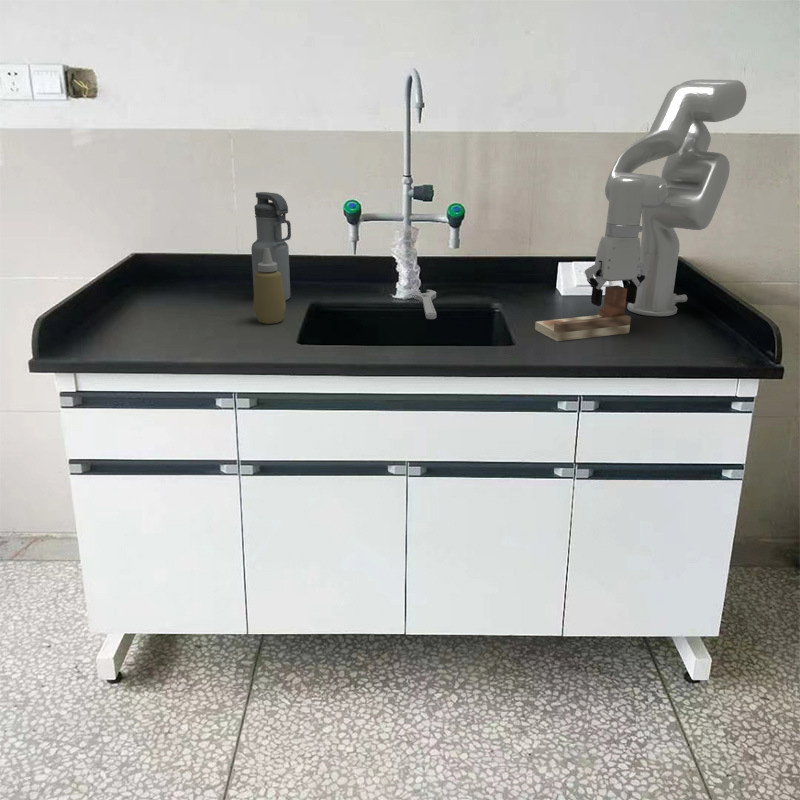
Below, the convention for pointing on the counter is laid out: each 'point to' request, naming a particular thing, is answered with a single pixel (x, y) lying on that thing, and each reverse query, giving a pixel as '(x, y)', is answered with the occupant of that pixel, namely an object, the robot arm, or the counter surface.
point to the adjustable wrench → (427, 303)
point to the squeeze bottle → (268, 291)
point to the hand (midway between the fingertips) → (613, 303)
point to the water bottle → (272, 235)
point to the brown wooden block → (614, 301)
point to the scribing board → (578, 334)
